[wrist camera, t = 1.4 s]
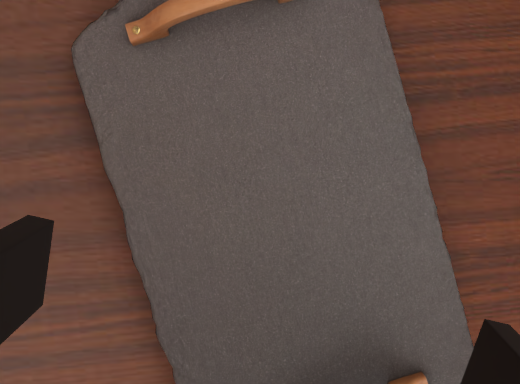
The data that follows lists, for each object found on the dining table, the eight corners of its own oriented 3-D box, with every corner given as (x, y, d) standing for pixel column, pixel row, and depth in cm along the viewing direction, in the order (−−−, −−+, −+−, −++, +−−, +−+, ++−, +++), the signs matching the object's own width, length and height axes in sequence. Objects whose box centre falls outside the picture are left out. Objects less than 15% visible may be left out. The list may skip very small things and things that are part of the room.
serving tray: (474, 390, 39) (520, 433, 32) (209, 475, 38) (204, 535, 32) (349, -68, 36) (371, -116, 30) (62, 14, 35) (25, -19, 29)
